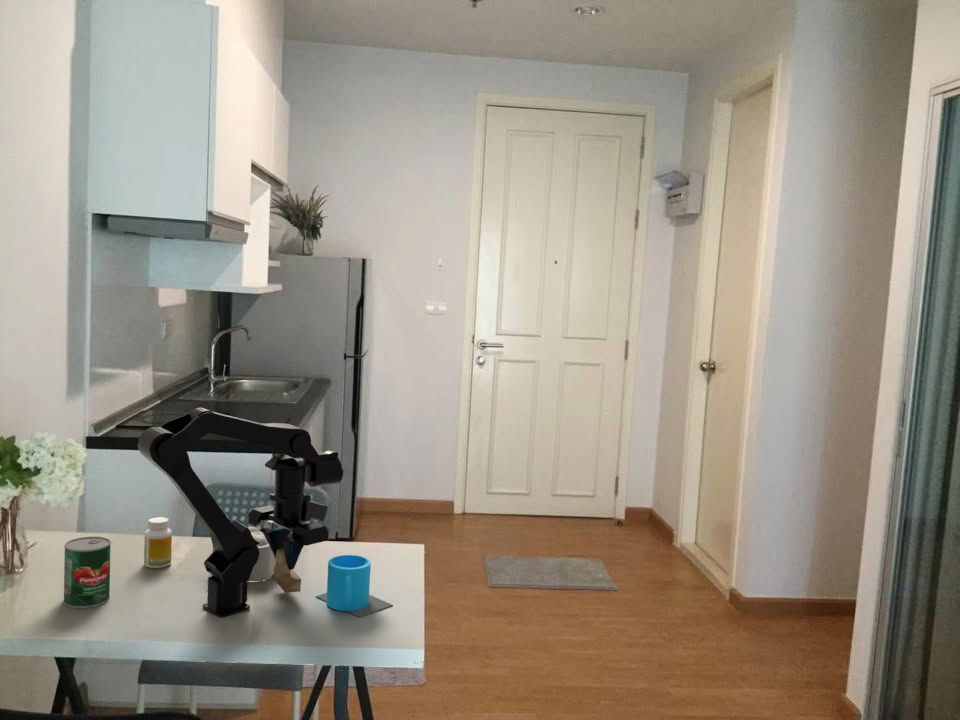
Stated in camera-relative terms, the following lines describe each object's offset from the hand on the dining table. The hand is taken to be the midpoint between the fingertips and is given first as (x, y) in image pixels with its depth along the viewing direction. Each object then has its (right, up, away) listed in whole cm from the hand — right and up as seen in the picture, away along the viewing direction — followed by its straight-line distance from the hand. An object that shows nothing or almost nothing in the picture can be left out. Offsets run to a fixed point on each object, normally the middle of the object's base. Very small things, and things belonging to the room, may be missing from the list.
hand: (286, 567), depth 165 cm
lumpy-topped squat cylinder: (-12, -4, +12) cm, 17 cm away
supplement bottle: (-30, -3, +13) cm, 33 cm away
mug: (+13, -7, -3) cm, 15 cm away
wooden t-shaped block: (-1, -4, 0) cm, 4 cm away
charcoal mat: (+13, -7, 0) cm, 15 cm away
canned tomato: (-36, -5, -7) cm, 37 cm away
